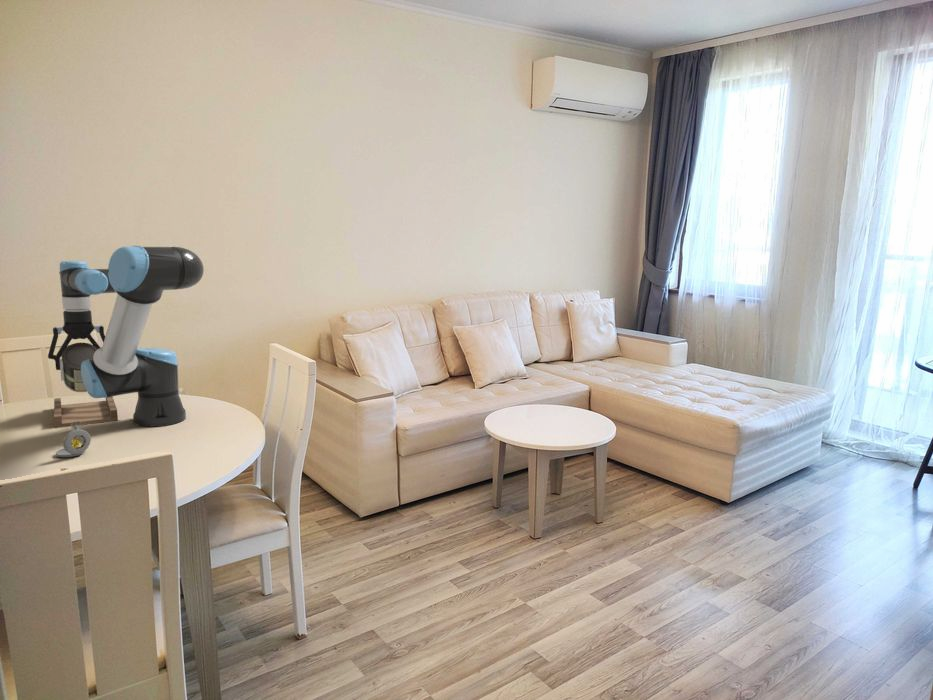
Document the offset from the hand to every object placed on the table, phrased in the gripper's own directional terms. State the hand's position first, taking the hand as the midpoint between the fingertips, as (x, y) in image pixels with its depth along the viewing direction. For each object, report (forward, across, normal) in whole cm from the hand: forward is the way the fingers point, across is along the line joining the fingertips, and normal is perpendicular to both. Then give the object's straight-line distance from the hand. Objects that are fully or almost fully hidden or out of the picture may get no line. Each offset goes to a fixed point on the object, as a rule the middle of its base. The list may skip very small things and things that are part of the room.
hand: (82, 378), depth 196 cm
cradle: (+12, 0, 0) cm, 12 cm away
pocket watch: (+12, +4, +42) cm, 44 cm away
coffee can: (+2, 0, -6) cm, 6 cm away
